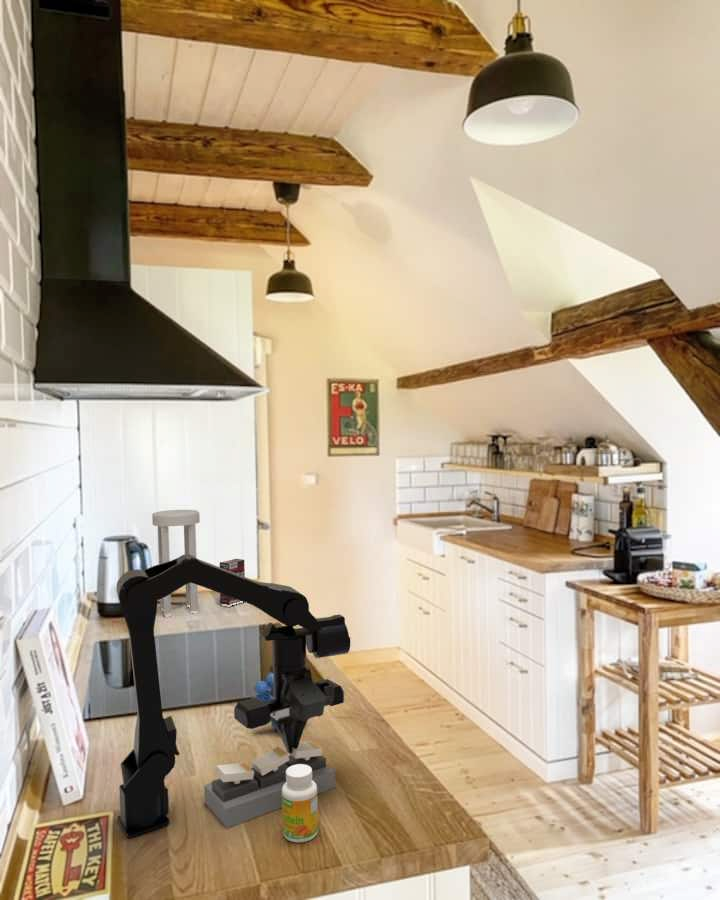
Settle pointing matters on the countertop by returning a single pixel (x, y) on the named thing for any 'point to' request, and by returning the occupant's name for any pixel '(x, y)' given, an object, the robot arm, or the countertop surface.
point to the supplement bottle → (299, 804)
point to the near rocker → (234, 772)
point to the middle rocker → (270, 761)
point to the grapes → (265, 692)
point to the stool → (188, 521)
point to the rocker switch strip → (261, 791)
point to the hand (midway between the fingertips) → (291, 751)
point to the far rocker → (306, 750)
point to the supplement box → (234, 567)
